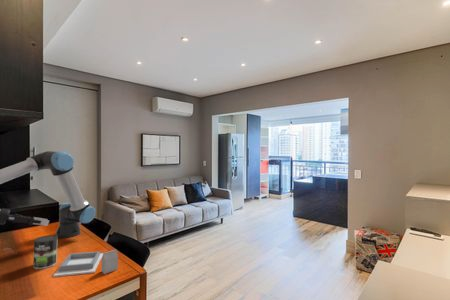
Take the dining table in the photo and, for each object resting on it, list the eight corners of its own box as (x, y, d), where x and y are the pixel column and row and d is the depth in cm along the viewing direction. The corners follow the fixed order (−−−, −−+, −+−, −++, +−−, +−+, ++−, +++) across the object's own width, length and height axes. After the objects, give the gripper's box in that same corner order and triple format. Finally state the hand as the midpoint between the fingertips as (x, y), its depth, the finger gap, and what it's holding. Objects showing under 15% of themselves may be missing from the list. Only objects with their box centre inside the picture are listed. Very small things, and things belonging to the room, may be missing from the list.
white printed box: (117, 269, 125) (118, 250, 125) (104, 274, 120) (104, 254, 120) (114, 267, 127) (115, 248, 128) (101, 271, 122) (102, 252, 123)
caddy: (69, 257, 137) (69, 251, 137) (103, 254, 142) (103, 248, 142) (53, 276, 116) (53, 270, 116) (94, 272, 121) (94, 266, 121)
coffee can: (52, 268, 124) (53, 241, 124) (28, 270, 121) (29, 242, 121) (60, 259, 134) (61, 234, 134) (38, 261, 131) (39, 235, 131)
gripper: (-4, 221, 127) (43, 227, 139) (-9, 225, 108) (46, 231, 120) (3, 207, 129) (48, 214, 141) (-2, 208, 110) (52, 216, 122)
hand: (47, 222), depth 131 cm, fingers open, 13 cm apart
